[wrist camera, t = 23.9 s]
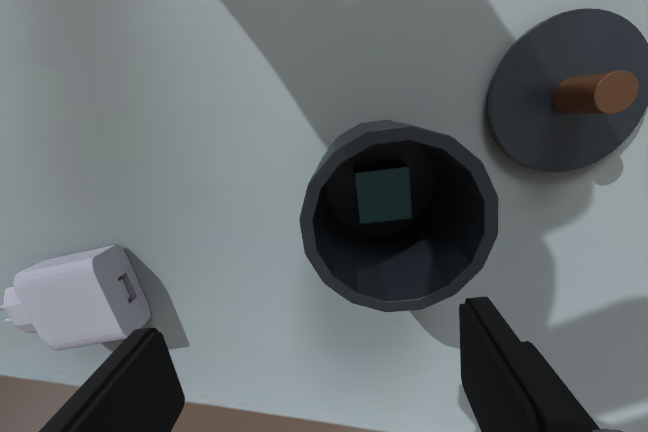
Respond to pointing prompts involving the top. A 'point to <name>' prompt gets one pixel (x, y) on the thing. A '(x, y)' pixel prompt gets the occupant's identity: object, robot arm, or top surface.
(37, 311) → the charger
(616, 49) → the lid
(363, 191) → the block
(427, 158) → the container
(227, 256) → the top surface
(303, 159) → the top surface
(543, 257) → the top surface
